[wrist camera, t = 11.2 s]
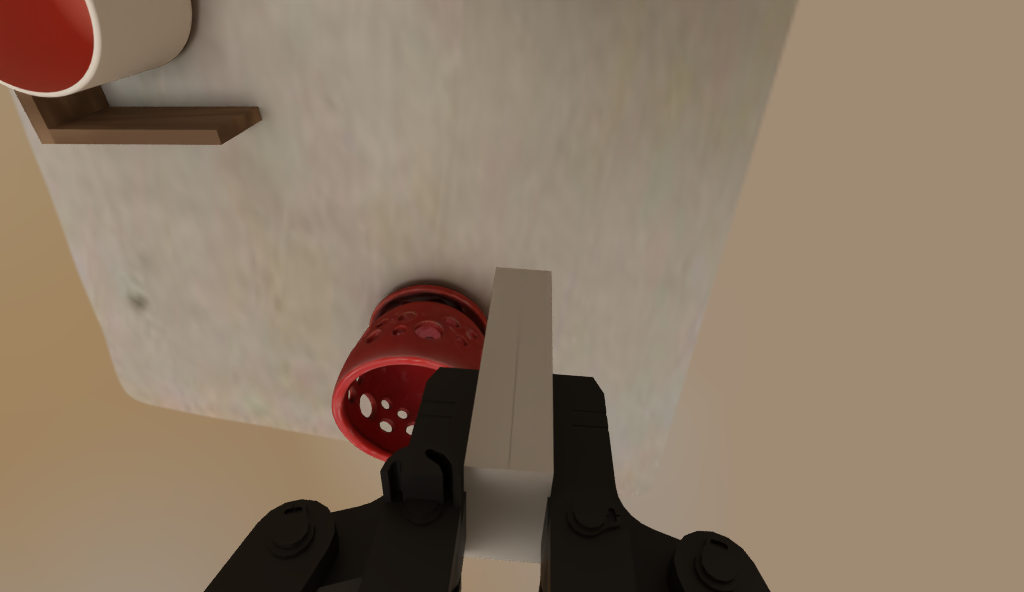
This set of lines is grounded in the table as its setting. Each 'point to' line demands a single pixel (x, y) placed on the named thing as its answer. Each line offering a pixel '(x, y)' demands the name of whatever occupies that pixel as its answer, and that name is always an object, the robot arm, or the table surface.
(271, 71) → the table surface
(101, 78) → the cup
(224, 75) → the table surface
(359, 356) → the plant pot
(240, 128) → the box
